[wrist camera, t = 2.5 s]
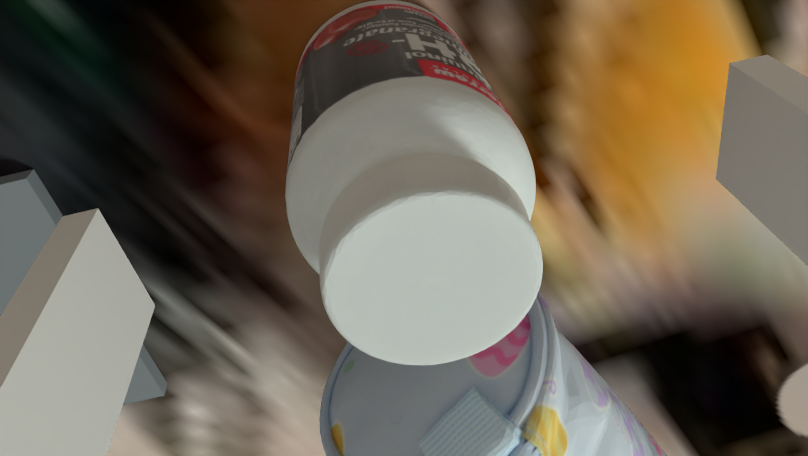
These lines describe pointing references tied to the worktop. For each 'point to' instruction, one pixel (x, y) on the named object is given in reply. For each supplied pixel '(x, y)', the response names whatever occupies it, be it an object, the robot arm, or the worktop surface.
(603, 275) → the worktop surface
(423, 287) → the pill bottle
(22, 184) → the slate mat
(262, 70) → the worktop surface
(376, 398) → the pencil case
